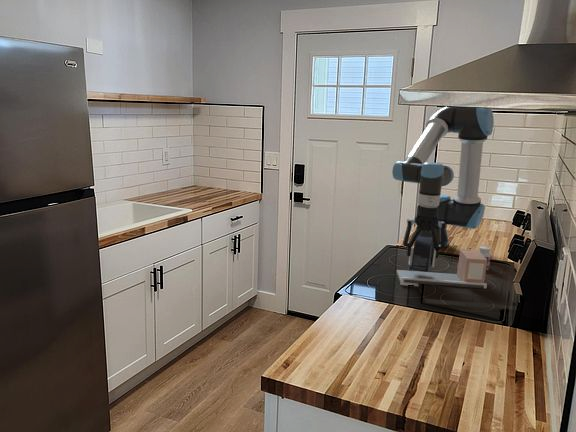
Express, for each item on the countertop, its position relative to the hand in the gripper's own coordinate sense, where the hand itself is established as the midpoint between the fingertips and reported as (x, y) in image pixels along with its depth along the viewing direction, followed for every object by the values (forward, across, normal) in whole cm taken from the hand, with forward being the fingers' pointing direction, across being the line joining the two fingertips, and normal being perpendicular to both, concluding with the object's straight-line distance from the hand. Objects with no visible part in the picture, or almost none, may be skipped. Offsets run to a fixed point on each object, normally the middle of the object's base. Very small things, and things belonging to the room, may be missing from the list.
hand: (421, 265), depth 180 cm
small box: (+1, 0, 0) cm, 1 cm away
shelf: (+5, +7, -1) cm, 9 cm away
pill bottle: (+6, +27, +15) cm, 31 cm away
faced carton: (+4, +18, -1) cm, 19 cm away
